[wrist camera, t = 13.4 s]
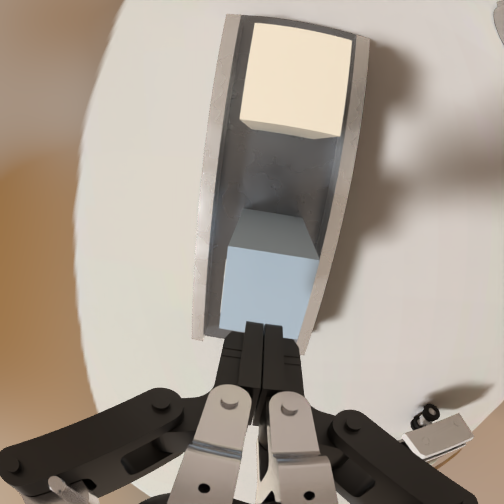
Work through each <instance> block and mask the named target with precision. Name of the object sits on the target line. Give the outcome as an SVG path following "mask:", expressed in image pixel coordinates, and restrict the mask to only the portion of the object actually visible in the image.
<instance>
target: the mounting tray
mask: <svg viewBox="0 0 504 504" xmlns="http://www.w3.org/2000/svg"><path fill="white" fill-rule="evenodd" d="M255 23H263V24H272V25H280V26H287V27H293V28H299V29H305V30H310V31H315V32H320V33H325V34H329V35H333V36H337V37H341V38H345V39H349V40H352V46H351V57H350V67H349V76H348V85H347V93H346V100H345V108H344V115H343V122H342V128H341V135H340V137H330V138H320V139H310V138H304V137H299V136H293V135H288V134H281V133H275V132H268V131H261V130H254V129H251V128H249V127H248V126H247V125H246V124H245V123H243V122H242V121H241V120H240V112H241V105H242V96H243V89H244V83H245V77H246V70H247V64H248V58H249V52H250V46H251V40H252V36H253V31H254V25H255ZM369 47H370V39H369V38H366V37H363V36H359V35H355V34H352V33H348V32H344V31H340V30H337V29H332V28H328V27H324V26H319V25H314V24H309V23H304V22H298V21H292V20H286V19H278V18H270V17H260V16H248V15H234V14H226V19H225V24H224V29H223V34H222V39H221V44H220V49H219V55H218V61H217V66H216V72H215V78H214V84H213V91H212V97H211V104H210V111H209V118H208V125H207V133H206V141H205V149H204V158H203V167H202V176H201V186H200V196H199V208H198V220H197V233H196V247H195V264H194V283H193V309H192V339H195V340H200V341H203V339H204V336H205V335H206V336H211V337H217V338H223V339H225V337H226V336H227V335H228V334H229V333H230V332H231V331H233V330H227V329H221V328H219V324H220V314H221V312H220V311H221V301H222V292H223V283H224V274H225V265H226V259H227V251H228V245H229V243H230V240H231V238H232V235H233V233H234V230H235V228H236V225H237V223H238V220H239V218H240V215H241V213H242V211H243V208H245V209H251V210H258V211H264V212H270V213H276V214H282V215H288V216H294V217H300V218H303V220H304V223H305V225H306V227H307V230H308V232H309V235H310V237H311V240H312V242H313V245H314V247H315V249H316V252H317V255H318V257H319V260H320V261H319V265H318V269H317V273H316V277H315V281H314V284H313V288H312V292H311V295H310V299H309V302H308V306H307V309H306V313H305V316H304V320H303V323H302V326H301V330H300V333H299V336H298V339H294V341H295V342H296V344H297V345H298V347H299V351H300V355H304V354H305V351H306V348H307V345H308V342H309V339H310V336H311V333H312V330H313V327H314V324H315V321H316V318H317V314H318V311H319V308H320V305H321V301H322V298H323V294H324V291H325V288H326V284H327V280H328V277H329V273H330V270H331V266H332V262H333V258H334V254H335V251H336V247H337V243H338V239H339V234H340V230H341V226H342V222H343V217H344V213H345V208H346V204H347V199H348V194H349V190H350V185H351V180H352V174H353V169H354V164H355V158H356V152H357V147H358V141H359V134H360V128H361V121H362V114H363V106H364V99H365V90H366V81H367V71H368V60H369ZM235 332H239V331H235ZM242 333H244V332H242ZM288 339H289V338H288Z"/></svg>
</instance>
